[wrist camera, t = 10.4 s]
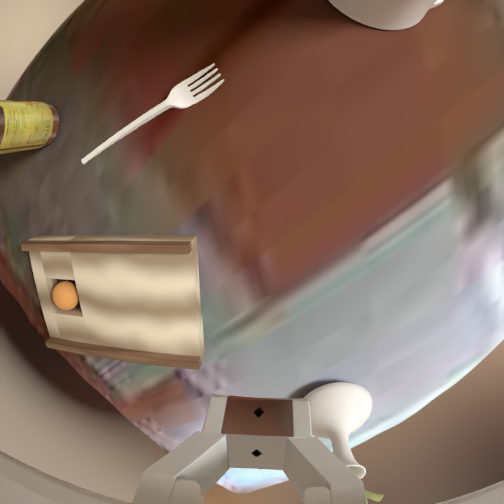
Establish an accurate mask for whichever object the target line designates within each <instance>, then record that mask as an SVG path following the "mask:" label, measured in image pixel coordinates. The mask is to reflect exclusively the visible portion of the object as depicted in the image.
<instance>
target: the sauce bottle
mask: <svg viewBox="0 0 504 504" xmlns="http://www.w3.org/2000/svg"><path fill="white" fill-rule="evenodd" d="M59 123H60V119H59V115H58V112H57V110H56V108H55V107H54V106H52V105H50V104H48V103H44V102H34V101H10V100H0V154H4V153H10V152H17V151H24V150H31V149H38V148H41V147H44V146H46V145H48V144H50V143H51V142H52V141H53V140H54V139H55V137H56V135H57V132H58V130H59Z"/></svg>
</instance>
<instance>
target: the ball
mask: <svg viewBox="0 0 504 504" xmlns="http://www.w3.org/2000/svg"><path fill="white" fill-rule="evenodd" d="M52 298H53V301H54V303H55V305H56V306H57V307H58V308H60V309H62V310H71V309H73V308H74V307H75V306H76V305H77V303H78V301H79V297H78V292H77V288H76V286H75V285H74V284H73V283H71V282H68V281H62V282H59V283H58V284H57V285H56V286H55V287H54V289H53V292H52Z"/></svg>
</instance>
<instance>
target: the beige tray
mask: <svg viewBox="0 0 504 504" xmlns="http://www.w3.org/2000/svg"><path fill="white" fill-rule="evenodd" d="M21 250H22V251H29V254H30V260H31V265H32V269H33V274H34V279H35V283H36V287H37V291H38V296H39V299H40V303H41V307H42V311H43V314H44V318H45V321H46V325H47V328H48V331H49V335H50V337H49V338H48V339H47V340H46V341H45V343H46V346H47V347H48V348H53V349H58V350H63V351H68V352H73V353H78V354H83V355H89V356H94V357H100V358H106V359H113V360H119V361H126V362H133V363H141V364H149V365H157V366H166V367H176V368H186V369H198V370H199V368H200V365H201V362H202V359H203V356H204V353H205V347H204V336H203V324H202V312H201V299H200V285H199V270H198V254H197V235H50V236H36V237H34V238H31V239H29V240H27V241H25V242H23V243H21ZM57 279H65V280H75V283H76V288H77V292H78V297H79V302H80V306H81V308H79V307H74V308H73V309H71V310H62V309H60V308H58V307H57V306H56V305H55V303H54V301H53V298H52V292H53V289H54V287H55V286H56V285H57V284H58V283H57Z"/></svg>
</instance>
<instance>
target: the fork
mask: <svg viewBox="0 0 504 504" xmlns="http://www.w3.org/2000/svg"><path fill="white" fill-rule="evenodd" d="M214 65H215V63H214V64H212V65H210V66H208V67H206V68H205V69H203V70H201V71H200V72H198V73H196V74H195V75H193V76H191V77H189V78H188V79H186V80H184V81H182V82H181V83H179V84H178V85H176V86H175V87H174V88H173V89H172V90H171V92H170V94H169V96H168V97H167V99H166V100H164V101H163V102H161V103H160V104H158V105H157V106H155V107H154V108H152V109H151V110H149V111H148V112H146V113H145V114H143V115H142V116H140V117H139V118H137V119H136V120H135V121H133V122H132V123H130V124H129V125H127V126H126V127H125V128H123V129H122V130H120V131H119V132H118V133H116V134H115V135H113V136H112V137H111V138H109V139H108V140H107V141H105V142H104V143H103V144H101V145H100V146H99V147H97V148H96V149H95V150H93V151H92V152H91V153H90V154H88V155H87V156H86V157H84V158H83V159H82V160H81V161H82V163H83V164H85V163H86V162H87V161H89V160H90V159H92V158H93V157H94V156H96V155H97V154H99V153H100V152H101V151H103V150H104V149H106V148H107V147H109V146H110V145H112V144H113V143H115V142H116V141H118V140H119V139H121V138H122V137H124V136H125V135H127V134H129V133H130V132H132V131H133V130H135V129H137V128H138V127H140V126H141V125H143V124H144V123H146V122H148V121H149V120H151V119H152V118H154V117H156V116H157V115H159V114H161V113H162V112H164V111H166V110H167V109H169V108H178V109H183V108H187V107H189V106H191V105H192V104H195V103H197V102H199V101H200V100H202V99H204V98H206V97H207V96H208V95H210V94H211V93H212V92H213V91H214V90H215V89H217V88H218V87H219V86H220V85H221V84H222V83H223V82H224V80H221V81H220V82H218V83H217V84H215V85H214V86H212V87H211V88H209V89H208V90H206V91H204V92H202V93H201V94H199V95H197V96H196V97H193V95H194V94H196V93H198V92H200V91H201V90H203V89H204V88H206V87H207V86H208V85H209V84H211V83H212V82H213V81H215V80H216V79H217V78H218V77H219V76H220V75H221V74H218V75H216V76H215V77H214V78H212V79H211V80H209V81H208V82H206V83H205V84H203V85H202V86H200V87H199V88H197V89H196V90H194V91H192V92H190V90H191V89H193V88H195V87H196V86H198V85H200V84H201V83H202V82H204V81H205V80H206V79H207V78H209V77H210V76H211V75H212V74H214V73H215V72H216V71H217V70H218V68H216V69H214V70H213V71H212V72H210V73H209V74H207V75H206V76H205V77H203V78H202V79H200V80H199V81H197V82H196V83H194V84H193V85H191V86H190V87H188V85H189V84H190V83H192V82H194V81H195V80H197V79H198V78H199V77H201V76H202V75H203V74H205V73H206V72H207V71H208V70H209V69H211V68H212V67H213V66H214Z"/></svg>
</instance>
